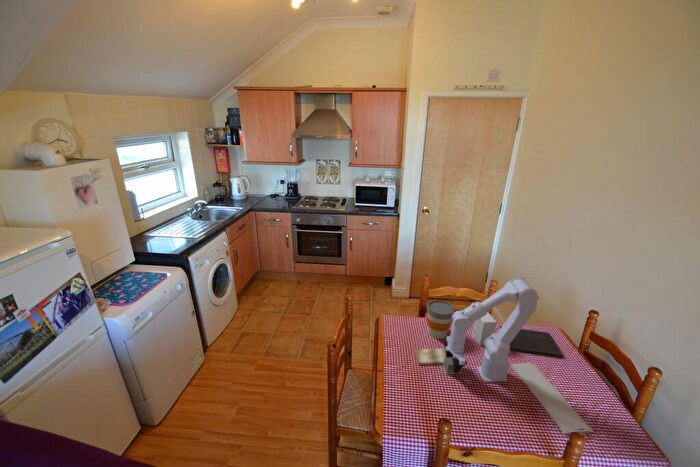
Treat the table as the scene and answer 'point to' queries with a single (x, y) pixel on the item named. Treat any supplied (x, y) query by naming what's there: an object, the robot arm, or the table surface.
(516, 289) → the robot arm
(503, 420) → the table surface
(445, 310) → the reusable coffee cup
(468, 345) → the table surface
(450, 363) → the block
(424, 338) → the table surface
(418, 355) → the pine board
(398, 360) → the table surface
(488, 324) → the small box
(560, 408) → the baseboard molding
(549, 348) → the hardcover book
